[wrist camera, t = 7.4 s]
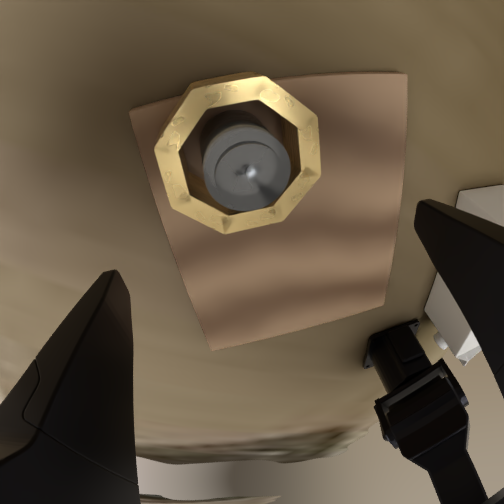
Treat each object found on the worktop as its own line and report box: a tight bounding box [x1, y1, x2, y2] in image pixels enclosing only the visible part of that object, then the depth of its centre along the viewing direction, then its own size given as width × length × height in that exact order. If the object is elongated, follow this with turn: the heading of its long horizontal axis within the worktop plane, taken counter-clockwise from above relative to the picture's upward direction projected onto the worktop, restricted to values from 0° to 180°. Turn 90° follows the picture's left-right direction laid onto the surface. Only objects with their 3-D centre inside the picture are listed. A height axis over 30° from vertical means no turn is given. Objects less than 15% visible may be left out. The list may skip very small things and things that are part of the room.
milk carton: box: [424, 185, 504, 366], centre depth 26 cm, size 7×7×19 cm
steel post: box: [200, 110, 291, 211], centre depth 14 cm, size 4×4×5 cm
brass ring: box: [154, 71, 321, 234], centre depth 15 cm, size 7×7×3 cm
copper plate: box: [129, 72, 407, 351], centre depth 21 cm, size 20×16×1 cm
